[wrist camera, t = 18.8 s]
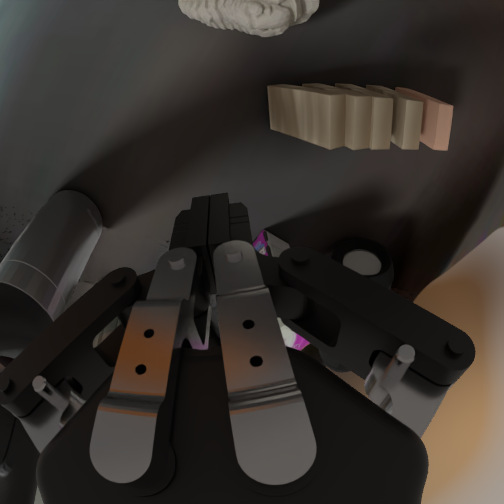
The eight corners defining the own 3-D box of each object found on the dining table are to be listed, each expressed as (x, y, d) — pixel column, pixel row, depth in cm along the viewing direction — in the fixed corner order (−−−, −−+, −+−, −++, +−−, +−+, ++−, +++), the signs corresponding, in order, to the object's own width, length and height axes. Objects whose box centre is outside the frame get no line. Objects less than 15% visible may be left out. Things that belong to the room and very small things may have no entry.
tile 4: (365, 123, 32) (402, 149, 25) (366, 84, 28) (406, 99, 21) (379, 124, 32) (418, 149, 25) (381, 85, 28) (423, 101, 21)
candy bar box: (246, 290, 47) (256, 383, 35) (219, 278, 45) (221, 375, 32) (292, 242, 42) (320, 338, 29) (264, 226, 40) (283, 325, 27)
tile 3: (335, 123, 31) (371, 149, 24) (334, 83, 28) (374, 97, 21) (350, 123, 32) (389, 149, 25) (350, 83, 28) (393, 98, 21)
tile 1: (270, 129, 31) (329, 149, 25) (267, 85, 28) (330, 95, 21) (284, 125, 31) (344, 145, 25) (282, 84, 28) (345, 94, 22)
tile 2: (303, 125, 31) (353, 150, 24) (302, 83, 28) (354, 96, 21) (318, 124, 31) (369, 147, 25) (317, 83, 28) (372, 96, 22)
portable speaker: (358, 330, 58) (372, 370, 50) (312, 339, 58) (323, 381, 50) (380, 230, 42) (409, 275, 34) (319, 238, 42) (339, 288, 34)
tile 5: (392, 124, 32) (433, 149, 25) (395, 86, 28) (439, 103, 21) (405, 125, 32) (447, 150, 25) (408, 88, 28) (453, 106, 21)
